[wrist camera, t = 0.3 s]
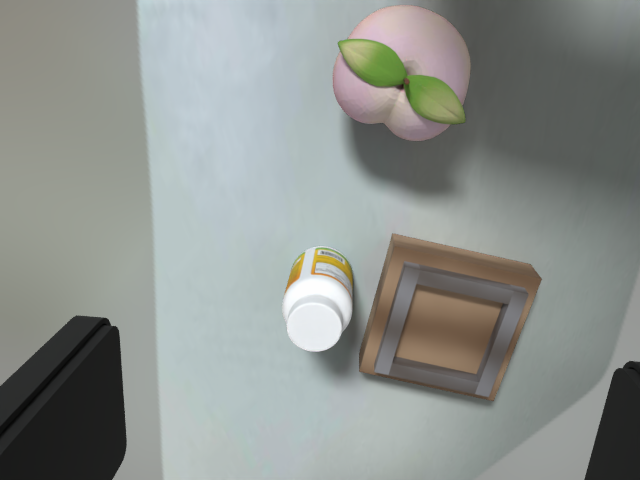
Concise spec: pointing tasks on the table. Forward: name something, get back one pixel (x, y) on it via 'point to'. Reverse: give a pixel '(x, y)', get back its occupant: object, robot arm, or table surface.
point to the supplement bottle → (318, 298)
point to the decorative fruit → (404, 72)
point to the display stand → (446, 317)
